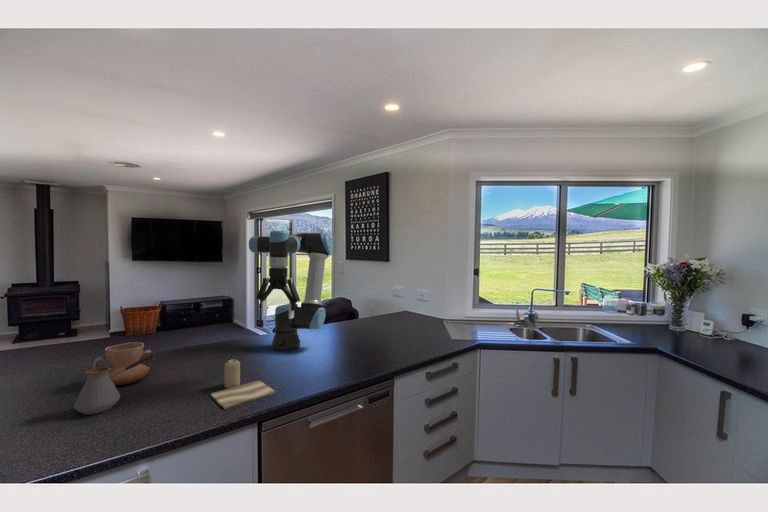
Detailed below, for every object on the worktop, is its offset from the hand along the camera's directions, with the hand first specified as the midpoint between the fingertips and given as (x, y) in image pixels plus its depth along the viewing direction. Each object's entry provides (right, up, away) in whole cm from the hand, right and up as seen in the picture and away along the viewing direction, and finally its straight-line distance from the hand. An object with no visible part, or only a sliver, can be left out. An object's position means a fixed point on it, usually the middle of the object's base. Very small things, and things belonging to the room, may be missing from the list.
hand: (277, 317), depth 139 cm
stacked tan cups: (-58, -24, -10) cm, 63 cm away
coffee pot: (-45, -25, -29) cm, 59 cm away
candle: (-14, -25, -12) cm, 31 cm away
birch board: (-6, -25, -20) cm, 32 cm away
